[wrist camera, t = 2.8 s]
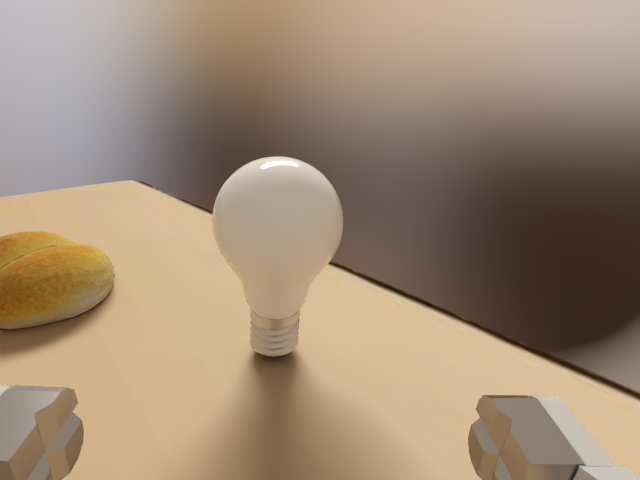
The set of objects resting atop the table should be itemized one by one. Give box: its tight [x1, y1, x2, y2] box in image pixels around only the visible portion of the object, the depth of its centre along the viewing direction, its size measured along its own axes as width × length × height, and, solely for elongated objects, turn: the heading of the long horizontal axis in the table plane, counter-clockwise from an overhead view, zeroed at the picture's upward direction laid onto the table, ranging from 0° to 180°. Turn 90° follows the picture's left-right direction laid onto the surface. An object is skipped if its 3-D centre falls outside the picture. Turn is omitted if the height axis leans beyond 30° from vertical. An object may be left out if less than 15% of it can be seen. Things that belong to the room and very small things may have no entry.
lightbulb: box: [212, 156, 343, 357], centre depth 20 cm, size 6×6×11 cm
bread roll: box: [0, 232, 115, 330], centre depth 25 cm, size 8×9×4 cm
